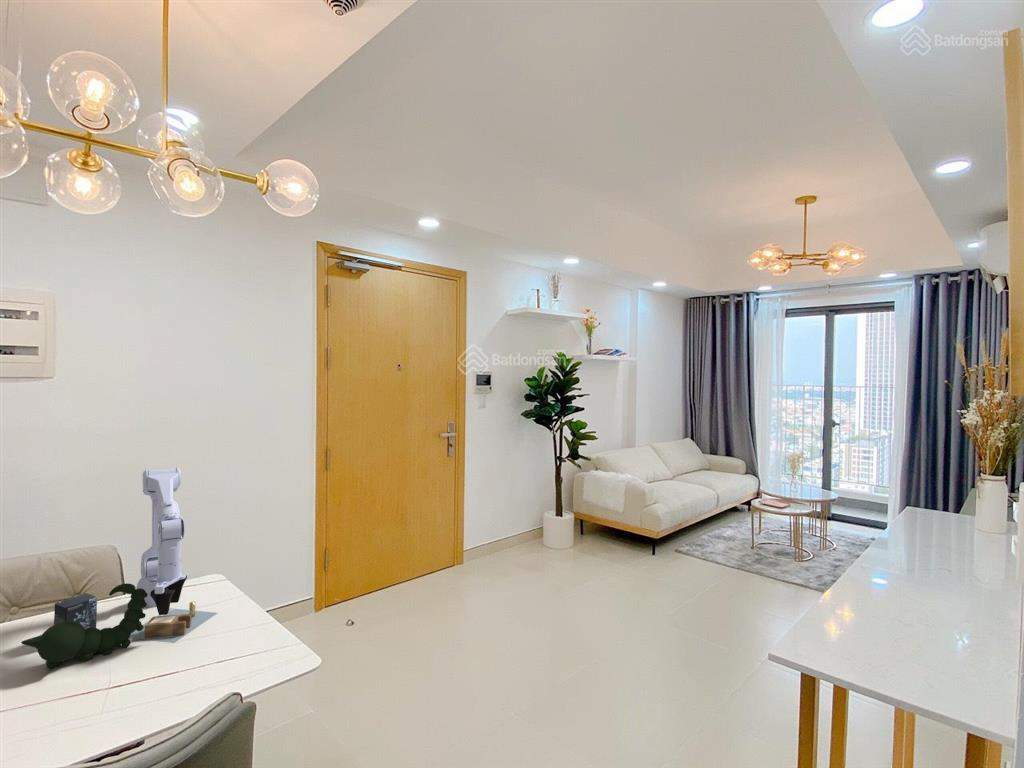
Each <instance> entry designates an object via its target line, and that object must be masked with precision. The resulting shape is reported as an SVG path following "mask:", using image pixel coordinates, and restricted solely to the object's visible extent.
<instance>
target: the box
mask: <svg viewBox="0 0 1024 768" xmlns="http://www.w3.org/2000/svg"><path fill="white" fill-rule="evenodd" d="M97 607H98V597H97V596H95V595H92V594H90V593H88V592H85V593H82V594H79V595H77V596H73V597H71V598H67V599H64V600H61V601H58V602H57V601H56V602H55V603H54V616H53V617H54V618H53V623H54V624H53V625H55V624H57V623H60V622H63V621H73V622H77V623H79V624H81V625H82V626H83V627H84V628H85V629H87V628H97V619H98V618H97V614H98V613H97V609H98V608H97Z"/></svg>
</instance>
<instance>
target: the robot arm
mask: <svg viewBox="0 0 1024 768" xmlns="http://www.w3.org/2000/svg"><path fill="white" fill-rule="evenodd" d="M181 472H182V471H181V469H180V468H179V467H171V468H158V469H157V468H156V469H145V470H144V471H142V492H143V495H145V496H149V497H150V499H151V546H150V547H149V548H148V549H146V551H144V552H143V553H142V554H141V559H140V560H141V561H140V577H141V578H140V579H139V580H138V582H137V584H136V587H135V588H136V589H139V588H141V589H144V590H145V591H146V593H147V594H148V595H147V597H146V598H144V599H145V602H146V603H147V605H146V607H151V608H152V607H153V608H154V607H156V609H157V612H158V616H159V615H167V614H168V612H169V609H171V607H170V605H171V604H174V603H175V604H176V603H179V601H180V598H181V593H182V591H183V587H184V584H185V583H186V581H187V578H188V575H187V574H183V573H184V572H183V571H184V567H183V566H182V564H183V563H182V562H183V561H182V559H183V556H182V555H183V539H184V537H185V532H186V526H185V525H186V524H185V520H184V518H183V516H182V515H181V512H180V506H179V503H178V502H177V501H175V500H174V493H175V492H177V491H178V489H179V487H180V485H181V481H182V473H181Z"/></svg>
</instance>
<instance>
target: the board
mask: <svg viewBox="0 0 1024 768" xmlns="http://www.w3.org/2000/svg"><path fill="white" fill-rule="evenodd" d="M184 614H189V609H179V608H175V607H173V608H171V607H170V608H169V612H168V614H167V615H159V614H158V616H169V615H184ZM217 614H218V612H213V611H203V610H195V617H192V618H191V627H190V628H186V633H185V635H178V636H165V637H152V638H144V634H145V625H146V624H147V623H148V622H149V621H146V622H145V623H144V624H142V625H143V626H144V628H143V630H142V631H137V630H135V631H134V632H133V633H131V635H130V637H129V638H128V639H133V640H143V641H153V642H154V641H155V642H162V643H163V642H165V643H173V644H174V643H177V642H178V641H179V640H181V639H182V638H184V637H185V636H186V635H188V634H189V633H192V632H193V631H195V629H197V628H199V627H200V626H202V625H203V624H204V623H206V622H207V621H208V620H210V619H212V618H213V617H215V616H216V615H217Z"/></svg>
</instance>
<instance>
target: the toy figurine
mask: <svg viewBox="0 0 1024 768" xmlns="http://www.w3.org/2000/svg"><path fill="white" fill-rule="evenodd" d="M136 588H137V587H136V586H135V584H132V583H121V584H118V585H117V586H115V587H114V588H112V589H111V591H109V593H108V595H109V596H113V595H114V594H116V593H124V594H127V595H130V599H129V601H128V602H127V609H126V610H125V612H124V614H123V618H122V619H121V620H120V622H119V623H118V624H117V625H115V626H113V627H106V628H105V627H104V628H102V629H100V628H97V627H96V628H87V629H85V628H84V627H83V626H82V625H81V624H79V623H77V622H73V621H63V622H60V623H57V624H55V625H54V624H53V625H50V627H48V628H47V629H46V630H45V631H43V632H42V633H41V634H40V635H38V636H34V637H31V638H30V637H29V638H27V639H23V640H22V641H21V644H22V645H25V646H28V647H30V648H31V647H32V648H34V649H36V650H37V654H38V655H39V657H40V658H41V659H42V660H44V661H45V665H46V669H47V670H50V671H54V670H55V669H57V668H59V667H60V666H61V665H62V664H63V662H64V661H67V660H70V659H71V658H74V657H75V656H77V657H80V661H81V662H83V663H86V662H89V661H91V660H92V659H93V658H94V654H96V653H98V654H102V656H104V657H106V656H109V655H112V654H113V650H114V649H115V648H116V647H117V646H120V645H121V646H122V647H123V648H127V647H129V646H130V645H131V643H132V642H131V638H129V637H130V635H131V633H133V632H134V631H135V630H137V631H142V630H143V628H144V626H143V625H144V624H142V621H141V620H143V619H145V617H146V615H147V614H146V613H145V612H144V610H143V609H144V608H145V607H147V606H146V605H147V603H146V602H145V599H144V598H146V597H147V595H148V594H147V593H146V591H145V590H144V589H141V588H139V589H136Z"/></svg>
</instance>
